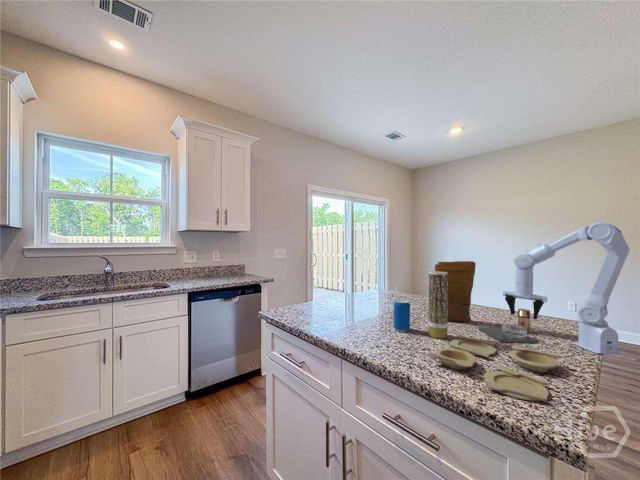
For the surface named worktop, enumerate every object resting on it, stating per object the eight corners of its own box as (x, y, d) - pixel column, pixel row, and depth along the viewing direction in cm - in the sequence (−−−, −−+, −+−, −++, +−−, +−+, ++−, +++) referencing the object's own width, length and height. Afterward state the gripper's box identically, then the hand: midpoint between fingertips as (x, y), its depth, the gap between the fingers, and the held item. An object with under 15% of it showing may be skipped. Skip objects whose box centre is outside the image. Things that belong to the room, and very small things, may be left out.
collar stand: (536, 342, 98) (536, 332, 98) (500, 342, 98) (500, 331, 98) (509, 330, 112) (509, 320, 112) (478, 329, 112) (478, 320, 112)
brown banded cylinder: (532, 333, 108) (533, 311, 108) (522, 333, 108) (522, 311, 108) (525, 330, 112) (525, 308, 112) (515, 330, 112) (515, 308, 112)
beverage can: (407, 327, 114) (408, 299, 114) (411, 332, 108) (411, 303, 108) (392, 326, 115) (392, 299, 115) (395, 332, 109) (395, 302, 109)
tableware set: (460, 338, 103) (461, 327, 103) (562, 364, 82) (562, 351, 82) (417, 367, 79) (417, 353, 79) (545, 415, 58) (546, 396, 58)
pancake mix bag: (478, 324, 120) (479, 261, 120) (434, 322, 122) (435, 261, 122) (471, 319, 127) (472, 260, 127) (430, 318, 128) (430, 260, 128)
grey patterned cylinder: (449, 340, 100) (450, 273, 100) (430, 338, 102) (430, 273, 102) (444, 333, 107) (445, 271, 107) (426, 332, 108) (427, 271, 108)
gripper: (549, 285, 107) (549, 319, 107) (507, 280, 118) (506, 310, 118) (544, 286, 102) (544, 322, 102) (501, 281, 114) (500, 313, 114)
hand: (523, 316), depth 110 cm, fingers open, 7 cm apart
